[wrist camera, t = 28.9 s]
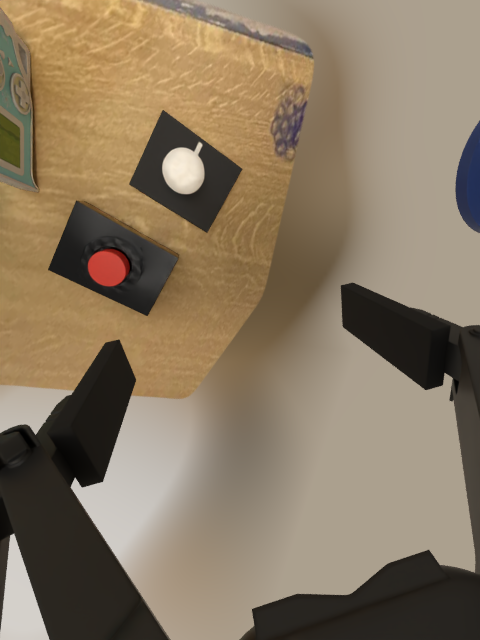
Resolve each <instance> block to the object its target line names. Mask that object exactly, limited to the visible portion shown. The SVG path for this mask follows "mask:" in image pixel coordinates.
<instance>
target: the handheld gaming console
mask: <svg viewBox="0 0 480 640" xmlns="http://www.w3.org/2000/svg"><path fill="white" fill-rule="evenodd" d="M32 147H33V109H32V99H31V94H30V51H29V49H28V47H27V46H26V45H25V43H24V42H23V41H22V40H21V38H20V37H19V36H18V34H17V33H16V32H15V29H14V26H13V24H12V22H11V21H10V19H9V18H8V17H7V15H6V14H5V13H4V11H3V10H2V9H1V8H0V181H1V182H3V183H6V184H8V185H11V186H14V187H16V188H19V189H23V190H28V191H34V192H39V188H38V187H37V186H36V184H35V182H34V179H33V173H32Z"/></svg>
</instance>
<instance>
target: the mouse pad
mask: <svg viewBox="0 0 480 640" xmlns="http://www.w3.org/2000/svg"><path fill="white" fill-rule="evenodd" d="M199 142H201V143H202V144H203V146H202V148H201V150H200V152H199V154H198V156H199V158H200V159H201V161H202V163H203V165H204V181H203V183H202V185H201V186H200V188H199V189H198V190H197V191H195V192H194V193H191V194H180V193H178V192H176V191H174V190H173V189H171V188H170V187H169V186H168V184H167V183H166V181H165V179H164V176H163V171H162V165H163V161H164V159H165V157H166V156H167V154H168V153H169V152H170V151H171V150H173V149H176V148H188V149H190V150H192V151H193V152H194V151H195V149H196V147H197V145H198V143H199ZM241 170H242V168H240V167H239V166H238V165H236V164H235V163H234V162H232V161H231V160H230V159H228V158H227V157H226V156H224V155H223V154H221V153H220V152H219V151H217V150H216V149H215V148H213V147H212V146H211V145H209V144H208V143H207V142H205V141H204V140H203V139H201V138H200V137H199V136H197V135H196V134H195V133H193V132H192V131H191V130H189V129H188V128H187V127H185V126H184V125H183V124H181V123H180V122H179V121H177V120H176V119H174V118H173V117H172V116H170V115H169V114H168V113H166V112H165V111H164V110H163V111H162V113H161V115H160V117H159V120H158V122H157V124H156V126H155V128H154V131H153V133H152V135H151V137H150V139H149V142H148V144H147V146H146V148H145V151H144V153H143V155H142V157H141V159H140V162H139V164H138V166H137V168H136V170H135V173H134V175H133V177H132V179H131V181H130V185H131V186H133V187H134V188H136V189H138V190H139V191H141V192H142V193H144V194H146V195H147V196H149V197H151V198H152V199H154V200H155V201H157V202H159V203H160V204H162V205H163V206H165V207H167V208H168V209H170V210H171V211H173V212H175V213H176V214H178V215H180V216H181V217H183V218H184V219H186V220H188V221H189V222H191V223H192V224H194V225H196V226H197V227H199V228H200V229H202V230H204V231H205V232H208V230H209V229H210V227H211V225H212V223H213V221H214V219H215V218H216V216H217V214H218V212H219V210H220V209H221V207H222V205H223V203H224V201H225V200H226V198H227V196H228V194H229V192H230V190H231V189H232V187H233V185H234V183H235V181H236V180H237V178H238V176H239V174H240V172H241Z"/></svg>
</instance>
